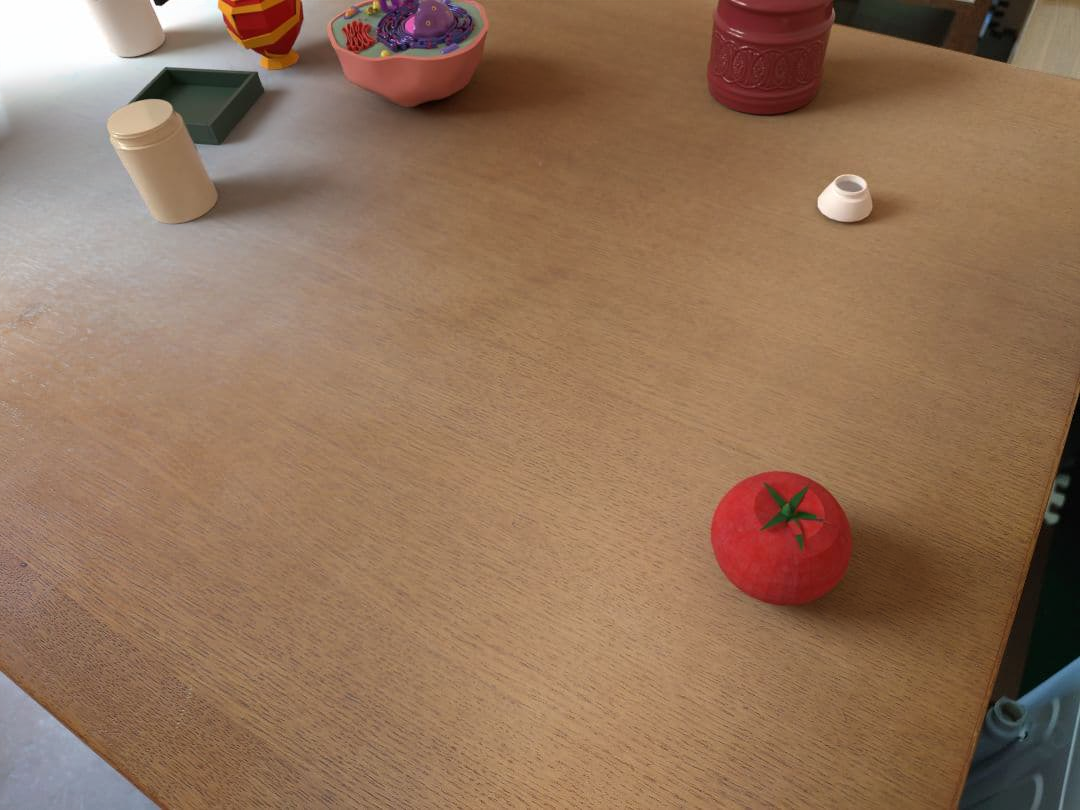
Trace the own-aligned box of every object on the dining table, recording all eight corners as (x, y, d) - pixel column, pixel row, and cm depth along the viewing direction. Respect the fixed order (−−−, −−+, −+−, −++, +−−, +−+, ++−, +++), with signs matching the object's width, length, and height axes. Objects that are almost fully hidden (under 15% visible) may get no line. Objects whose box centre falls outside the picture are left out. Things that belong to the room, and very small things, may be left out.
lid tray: (123, 137, 94) (112, 118, 92) (174, 85, 102) (165, 66, 100) (219, 145, 92) (210, 125, 90) (264, 91, 99) (257, 71, 97)
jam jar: (138, 220, 83) (87, 134, 75) (172, 181, 88) (128, 95, 80) (197, 226, 82) (152, 138, 74) (229, 185, 86) (189, 98, 78)
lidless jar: (817, 223, 75) (871, 227, 74) (823, 198, 73) (879, 201, 72) (816, 192, 78) (868, 195, 77) (822, 166, 76) (876, 169, 75)
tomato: (825, 644, 49) (856, 588, 43) (690, 598, 52) (700, 539, 46) (848, 529, 54) (878, 465, 48) (723, 493, 57) (737, 427, 51)
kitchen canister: (723, 53, 97) (741, -109, 83) (829, 68, 93) (867, -99, 79) (690, 106, 90) (705, -61, 76) (804, 125, 85) (841, -47, 72)
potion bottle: (324, 67, 102) (287, -57, 90) (245, 87, 100) (197, -38, 88) (311, 34, 108) (275, -87, 97) (237, 51, 106) (191, -69, 95)
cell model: (390, 47, 104) (369, -44, 95) (522, 71, 97) (513, -24, 89) (314, 111, 95) (283, 18, 86) (454, 143, 88) (436, 45, 80)
